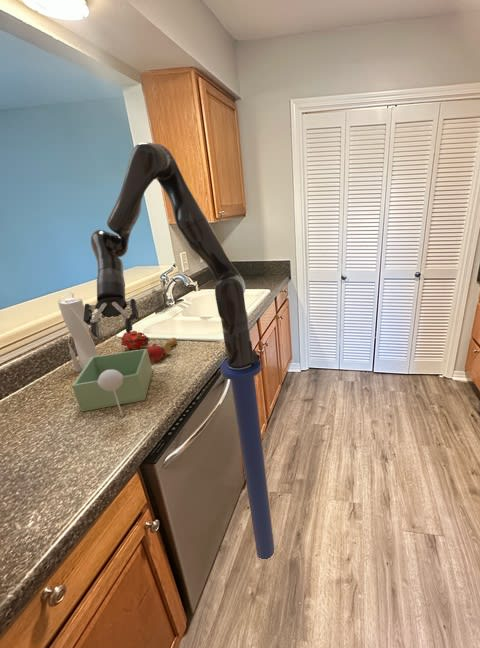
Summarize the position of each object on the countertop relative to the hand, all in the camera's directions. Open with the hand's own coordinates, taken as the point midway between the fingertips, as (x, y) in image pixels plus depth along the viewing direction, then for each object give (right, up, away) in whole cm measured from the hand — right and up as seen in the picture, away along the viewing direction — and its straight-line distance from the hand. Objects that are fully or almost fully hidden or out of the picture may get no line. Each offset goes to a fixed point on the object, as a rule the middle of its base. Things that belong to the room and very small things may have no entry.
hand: (112, 333), depth 95 cm
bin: (-4, -18, +12) cm, 22 cm away
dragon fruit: (-14, -6, +42) cm, 45 cm away
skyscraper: (-25, -12, +29) cm, 40 cm away
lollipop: (+4, -24, -2) cm, 24 cm away
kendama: (0, -8, +36) cm, 37 cm away
